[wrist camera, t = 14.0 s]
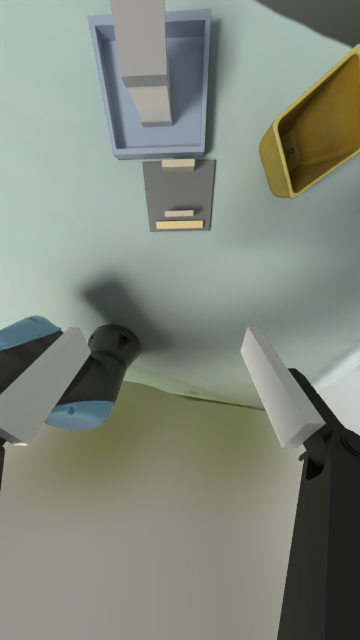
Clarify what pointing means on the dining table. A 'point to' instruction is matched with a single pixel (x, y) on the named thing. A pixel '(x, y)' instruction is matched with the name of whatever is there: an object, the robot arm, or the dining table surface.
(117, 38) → the block
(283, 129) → the flower pot
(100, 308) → the dining table surface
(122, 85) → the tray
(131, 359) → the robot arm
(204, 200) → the block
